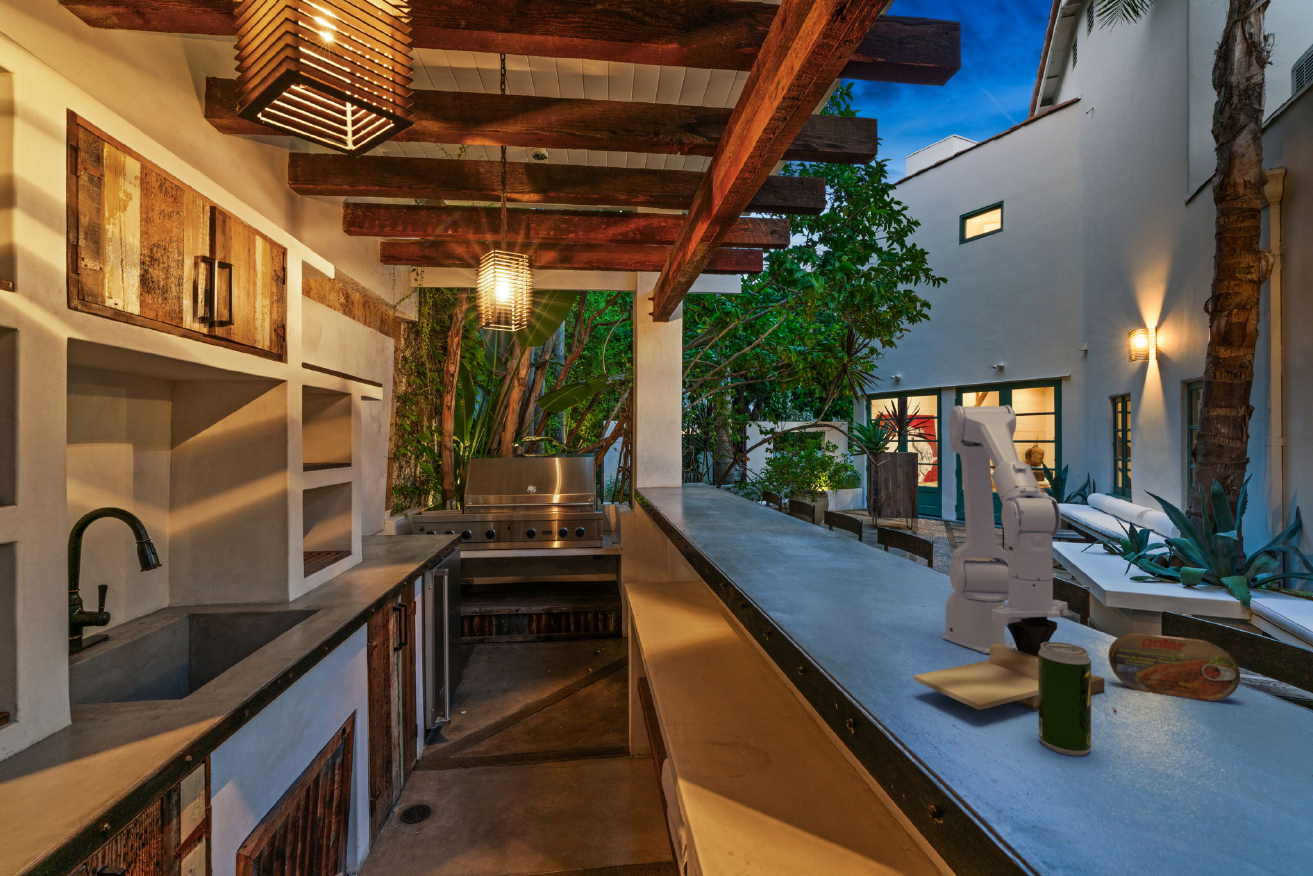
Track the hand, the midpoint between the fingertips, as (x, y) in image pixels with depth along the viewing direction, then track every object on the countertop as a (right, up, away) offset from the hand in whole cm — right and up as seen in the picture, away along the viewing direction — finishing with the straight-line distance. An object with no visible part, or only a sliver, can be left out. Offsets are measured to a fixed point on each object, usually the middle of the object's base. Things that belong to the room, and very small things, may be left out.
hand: (1030, 667), depth 92 cm
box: (+1, -3, +1) cm, 4 cm away
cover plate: (-9, -1, -4) cm, 10 cm away
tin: (+20, -4, -1) cm, 21 cm away
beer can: (-6, -4, -17) cm, 18 cm away
